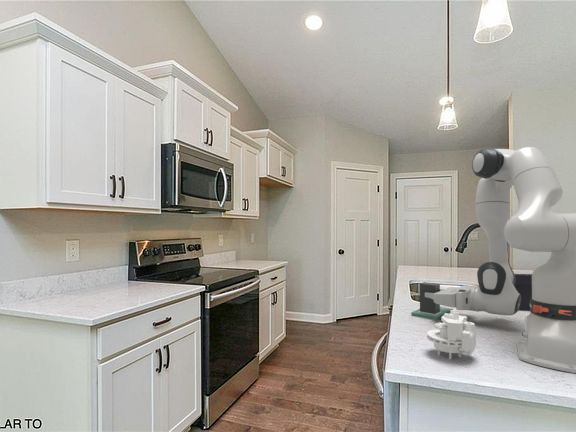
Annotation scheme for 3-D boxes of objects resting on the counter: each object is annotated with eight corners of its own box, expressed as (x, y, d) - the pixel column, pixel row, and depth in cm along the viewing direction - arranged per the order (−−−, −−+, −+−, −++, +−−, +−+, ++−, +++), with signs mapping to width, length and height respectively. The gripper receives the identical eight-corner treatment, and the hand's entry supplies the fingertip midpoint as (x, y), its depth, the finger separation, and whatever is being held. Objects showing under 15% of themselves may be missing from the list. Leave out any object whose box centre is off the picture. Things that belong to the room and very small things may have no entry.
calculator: (538, 309, 149) (537, 274, 150) (544, 311, 145) (544, 275, 145) (510, 308, 150) (510, 273, 151) (516, 310, 146) (516, 274, 146)
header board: (437, 320, 130) (437, 311, 130) (411, 315, 136) (411, 307, 136) (452, 311, 143) (452, 303, 143) (428, 307, 150) (428, 300, 150)
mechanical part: (432, 345, 102) (432, 304, 103) (478, 354, 96) (478, 310, 96) (422, 357, 93) (422, 312, 94) (472, 367, 86) (472, 319, 87)
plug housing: (435, 314, 134) (435, 285, 134) (419, 311, 138) (419, 283, 138) (439, 311, 137) (439, 283, 138) (424, 309, 141) (424, 282, 142)
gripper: (475, 285, 136) (438, 281, 145) (459, 292, 121) (419, 287, 130) (475, 302, 136) (438, 297, 145) (459, 311, 121) (419, 304, 130)
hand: (429, 292), depth 138 cm, fingers open, 8 cm apart
